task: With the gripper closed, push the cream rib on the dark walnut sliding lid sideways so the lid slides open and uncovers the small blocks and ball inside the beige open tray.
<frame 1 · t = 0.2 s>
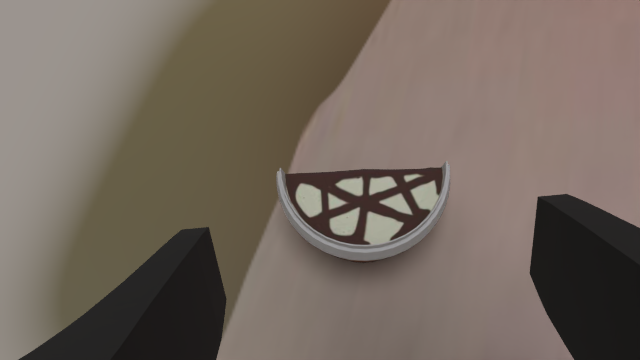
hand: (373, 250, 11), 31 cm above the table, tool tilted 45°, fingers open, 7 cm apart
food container: (362, 240, 42), on the table
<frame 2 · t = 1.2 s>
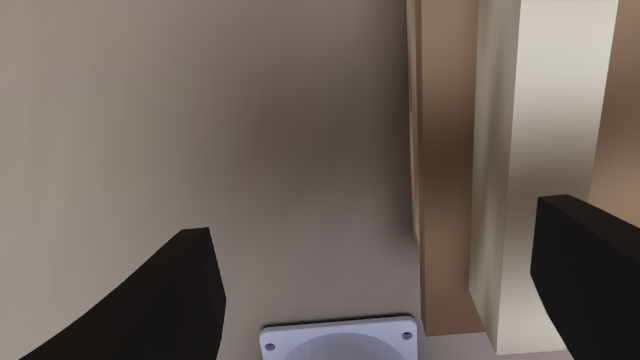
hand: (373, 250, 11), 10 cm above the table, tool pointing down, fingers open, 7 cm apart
beige open tray: (608, 83, 20), on the table
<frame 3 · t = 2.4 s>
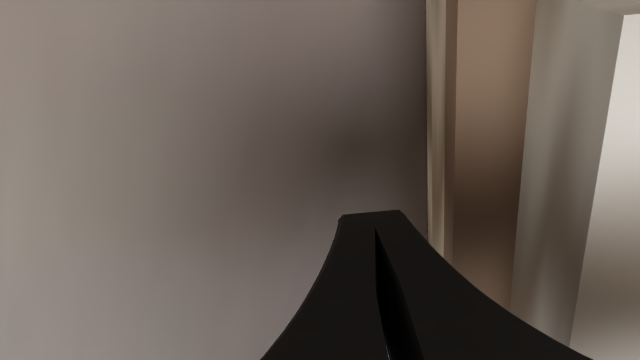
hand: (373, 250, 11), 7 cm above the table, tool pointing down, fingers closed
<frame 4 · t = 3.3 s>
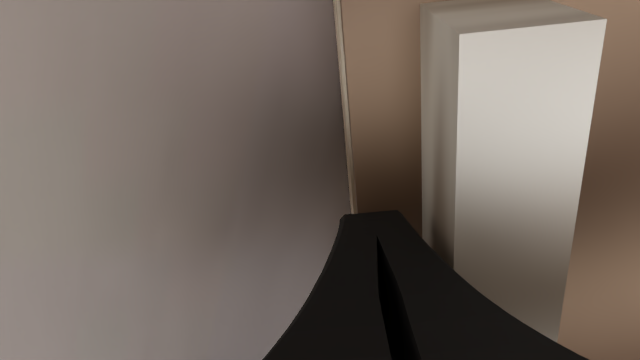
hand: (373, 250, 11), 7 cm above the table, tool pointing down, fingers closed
beige open tray: (582, 114, 17), on the table
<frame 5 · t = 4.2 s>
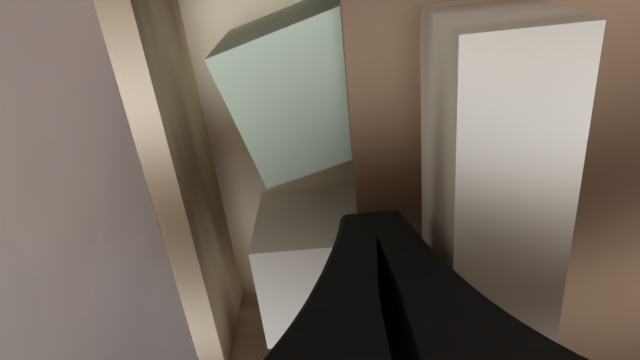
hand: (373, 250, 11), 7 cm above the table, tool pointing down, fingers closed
sage cube: (308, 65, 15), point 1 cm above the table, touching beige open tray
cream cube: (318, 232, 18), point 1 cm above the table, touching beige open tray
beige open tray: (426, 130, 17), on the table
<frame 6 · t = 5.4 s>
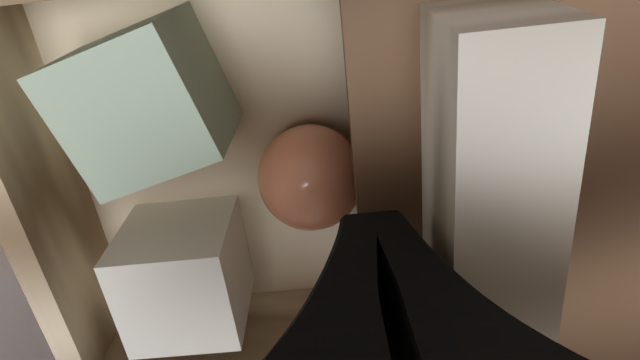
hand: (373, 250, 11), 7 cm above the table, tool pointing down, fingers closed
sage cube: (164, 80, 15), point 1 cm above the table, touching beige open tray
cream cube: (197, 243, 18), point 1 cm above the table, touching beige open tray
terracotta ball: (311, 155, 16), point 1 cm above the table, touching beige open tray
beige open tray: (296, 142, 17), on the table
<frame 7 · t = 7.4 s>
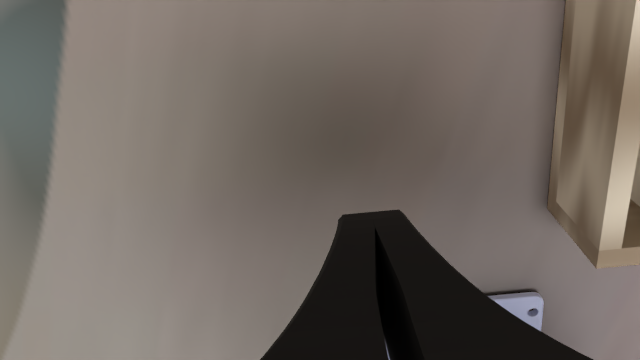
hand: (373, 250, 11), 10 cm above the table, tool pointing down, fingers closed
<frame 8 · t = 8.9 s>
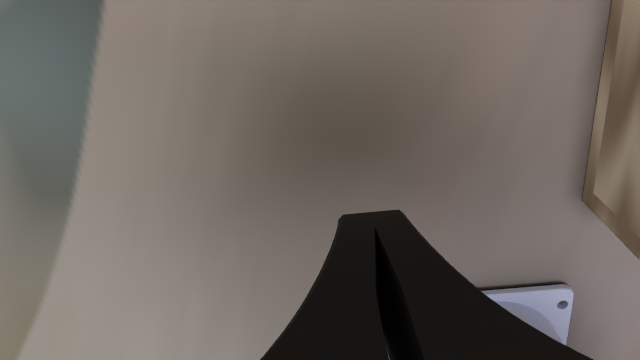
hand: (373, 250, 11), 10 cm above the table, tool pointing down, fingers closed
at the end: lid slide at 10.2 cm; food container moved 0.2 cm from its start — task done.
